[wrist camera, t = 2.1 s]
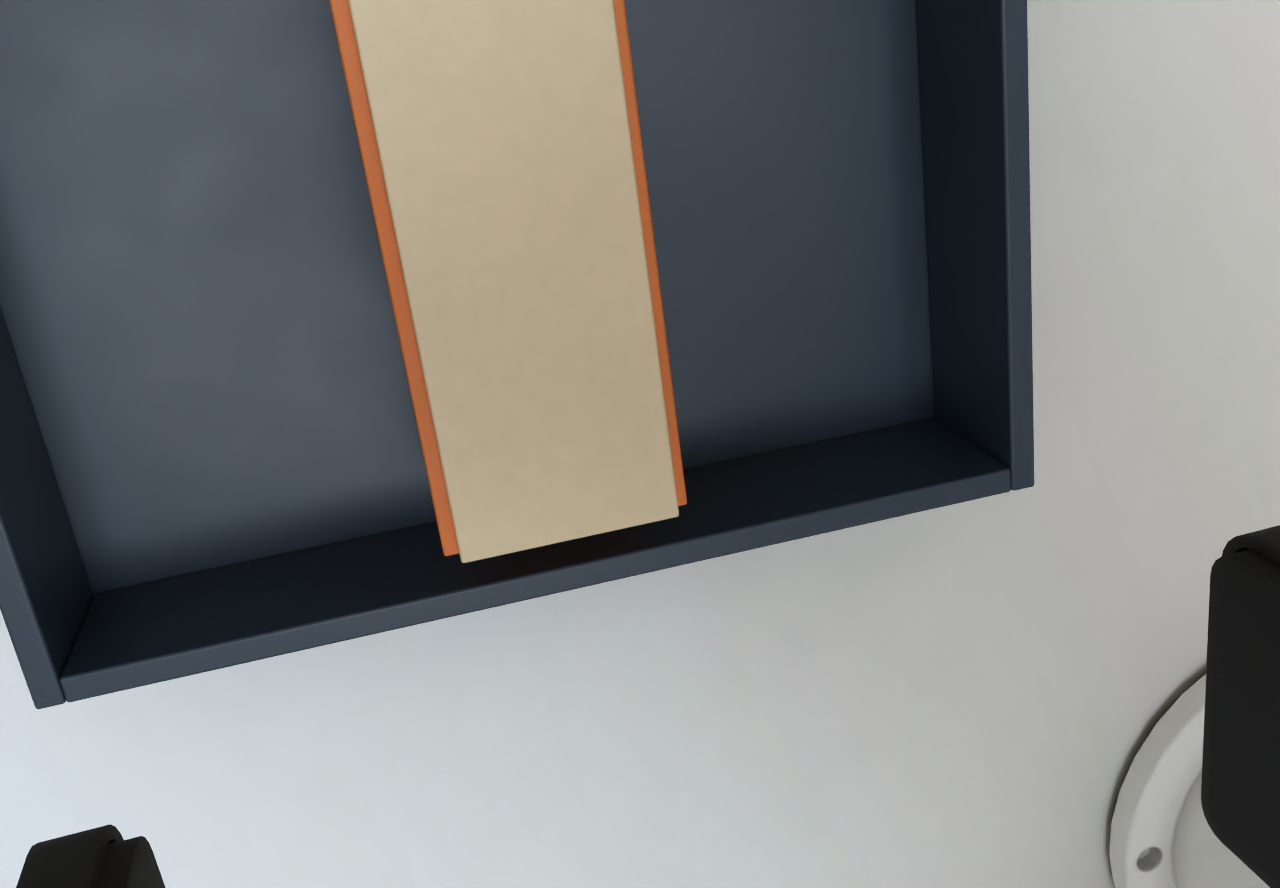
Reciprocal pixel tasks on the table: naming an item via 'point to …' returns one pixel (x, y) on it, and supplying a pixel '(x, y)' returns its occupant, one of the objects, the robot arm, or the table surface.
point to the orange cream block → (518, 262)
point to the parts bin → (368, 338)
